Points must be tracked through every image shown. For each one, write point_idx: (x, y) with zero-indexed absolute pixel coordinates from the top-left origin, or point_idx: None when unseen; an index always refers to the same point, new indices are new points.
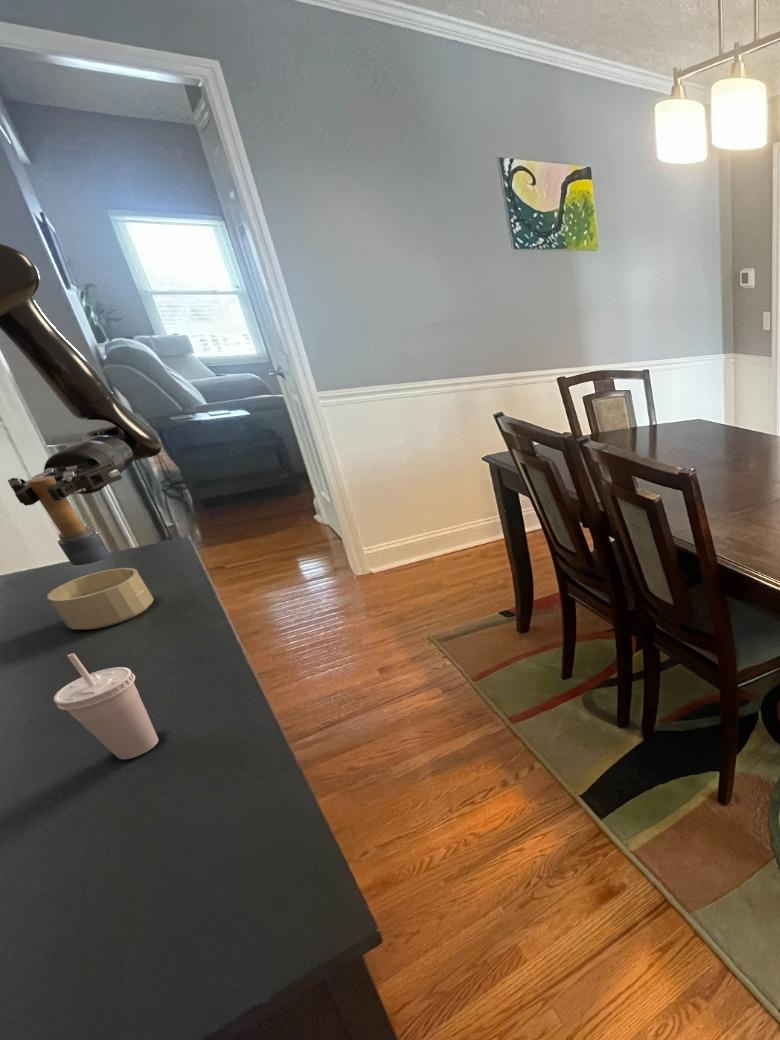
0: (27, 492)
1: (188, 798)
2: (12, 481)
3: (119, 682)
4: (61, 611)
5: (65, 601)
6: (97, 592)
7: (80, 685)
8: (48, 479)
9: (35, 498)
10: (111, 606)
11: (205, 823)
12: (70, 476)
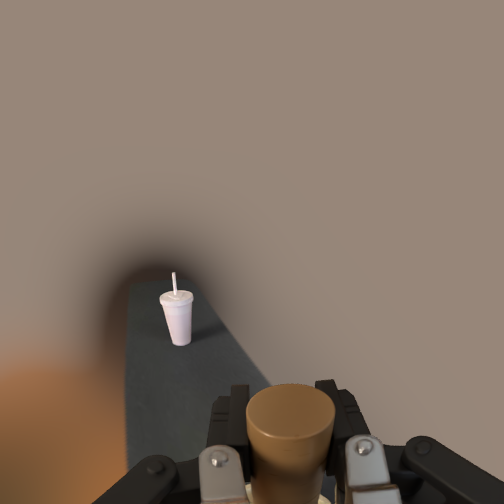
0: None
1: (161, 315)
2: (496, 490)
3: (164, 293)
4: None
5: None
6: (246, 488)
7: (181, 295)
8: (253, 397)
9: None
10: None
11: (156, 307)
12: (211, 482)
